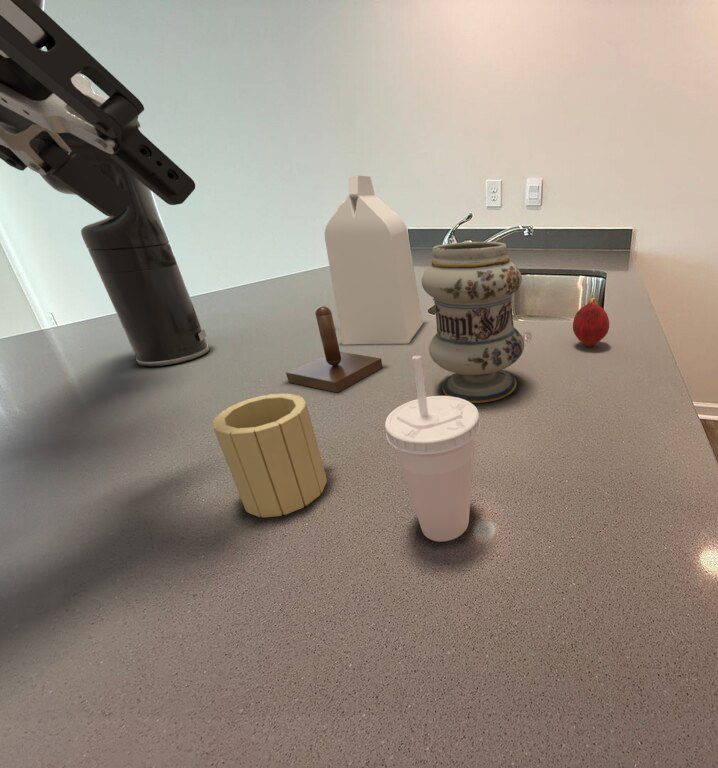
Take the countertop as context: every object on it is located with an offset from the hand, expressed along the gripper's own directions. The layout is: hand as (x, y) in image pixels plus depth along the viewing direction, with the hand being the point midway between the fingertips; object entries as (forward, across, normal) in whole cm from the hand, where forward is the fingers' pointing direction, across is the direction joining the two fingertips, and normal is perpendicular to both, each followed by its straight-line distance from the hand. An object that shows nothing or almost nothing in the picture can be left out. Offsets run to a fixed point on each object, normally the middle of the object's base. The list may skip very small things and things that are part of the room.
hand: (152, 203), depth 29 cm
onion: (+47, -19, -20) cm, 55 cm away
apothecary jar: (+34, -10, -4) cm, 36 cm away
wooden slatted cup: (+18, -4, +15) cm, 24 cm away
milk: (+40, +18, -16) cm, 47 cm away
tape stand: (+30, +11, -2) cm, 32 cm away
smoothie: (+21, -19, +14) cm, 32 cm away
